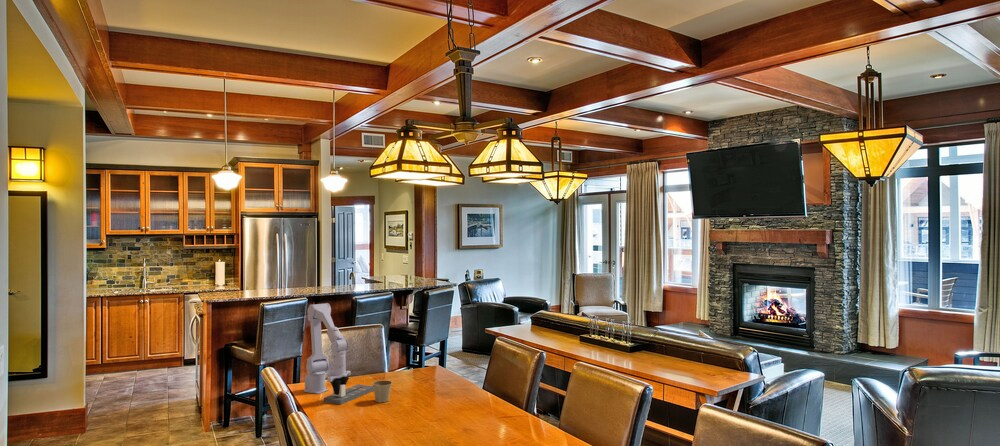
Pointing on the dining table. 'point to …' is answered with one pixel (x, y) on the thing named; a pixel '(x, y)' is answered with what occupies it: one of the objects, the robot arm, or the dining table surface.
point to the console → (349, 394)
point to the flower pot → (382, 390)
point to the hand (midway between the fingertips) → (339, 393)
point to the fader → (341, 391)
